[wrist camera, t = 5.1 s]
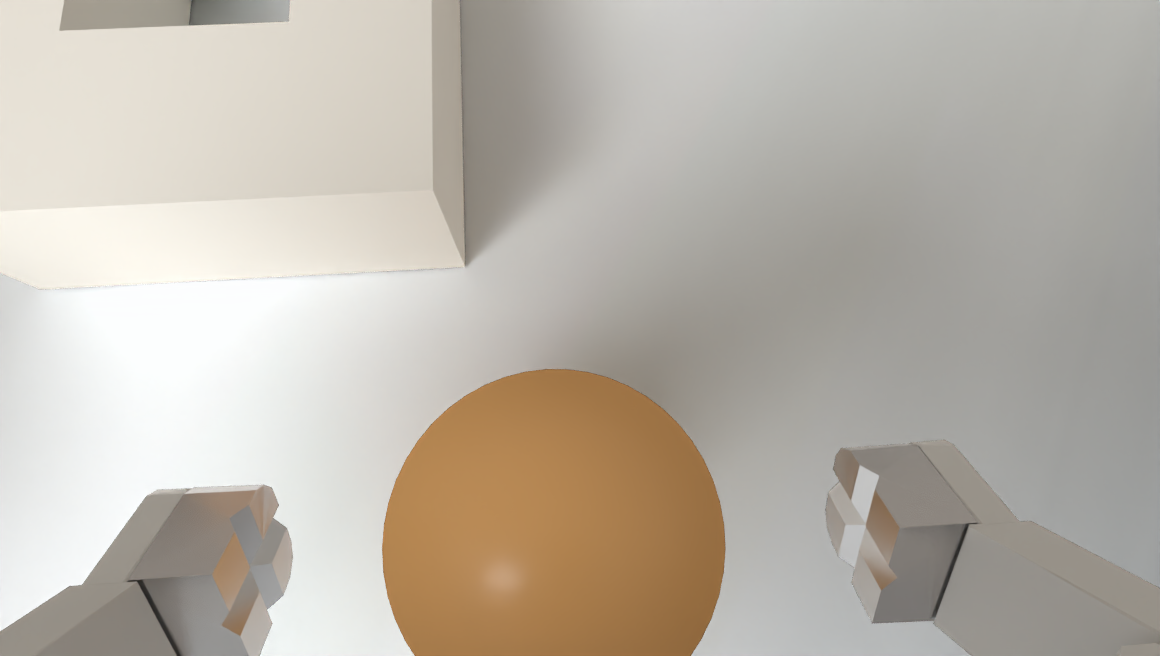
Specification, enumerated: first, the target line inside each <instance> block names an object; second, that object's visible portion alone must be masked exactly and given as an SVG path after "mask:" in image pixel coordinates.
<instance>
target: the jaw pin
mask: <svg viewBox="0 0 1160 656" xmlns="http://www.w3.org/2000/svg"><path fill="white" fill-rule="evenodd" d="M382 553H383V573H384V578H385V584H386V589H387V595H388V599H389V602H390V605H391V608H392V611H393V614H394V618H395V620H396V622H397V624H398V627H399V629H400V631H401V633H402V635H403V637H404V639H405V641H406V643H407V644H408V646H409V647H410V649H411V651H412V652H413V654H414V655H415V656H691V654H692V653H693V651H694V650H695V648H696V647H697V645H698V644H699V642H700V641H701V639H702V637H703V635H704V633H705V630H706V628H707V626H708V624H709V622H710V620H711V618H712V615H713V612H714V609H715V606H716V603H717V600H718V597H719V593H720V588H721V583H722V578H723V573H724V560H725V533H724V522H723V516H722V511H721V505H720V501H719V498H718V494H717V491H716V488H715V485H714V482H713V479H712V477H711V475H710V472H709V470H708V468H707V466H706V464H705V461H704V459H703V458H702V456H701V455H700V453H699V451H698V450H697V448H696V446H695V445H694V443H693V442H692V440H691V439H690V438H689V436H688V435H687V434H686V433H685V431H684V430H683V429H682V428H681V426H680V425H679V424H678V423H677V422H676V421H675V420H674V419H673V418H672V417H671V416H670V415H669V414H668V413H667V412H666V411H665V410H664V409H662V408H661V407H660V406H658V405H657V404H656V403H654V402H653V401H652V400H650V399H649V398H648V397H646V396H645V395H643V394H641V393H640V392H638V391H636V390H634V389H633V388H631V387H629V386H627V385H625V384H622V383H620V382H618V381H615V380H613V379H610V378H608V377H604V376H600V375H596V374H593V373H589V372H583V371H575V370H568V369H544V370H536V371H528V372H523V373H519V374H515V375H511V376H507V377H504V378H501V379H499V380H496V381H494V382H491V383H489V384H486V385H484V386H482V387H480V388H478V389H477V390H475V391H473V392H471V393H469V394H468V395H466V396H464V397H463V398H462V399H460V400H459V401H458V402H456V403H455V404H453V405H452V406H451V407H449V408H448V409H447V410H446V411H445V412H444V413H443V414H442V415H441V416H440V417H439V418H437V419H436V420H435V421H434V422H433V423H432V424H431V426H430V427H429V428H428V429H427V430H426V432H425V433H424V434H423V435H422V436H421V438H420V439H419V440H418V441H417V443H416V445H415V446H414V448H413V449H412V451H411V452H410V454H409V455H408V457H407V459H406V460H405V462H404V465H403V467H402V469H401V471H400V473H399V475H398V477H397V479H396V482H395V485H394V488H393V491H392V494H391V497H390V500H389V503H388V508H387V513H386V518H385V523H384V532H383V545H382Z"/></svg>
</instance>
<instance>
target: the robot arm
mask: <svg viewBox="0 0 1160 656" xmlns="http://www.w3.org/2000/svg"><path fill="white" fill-rule="evenodd" d="M833 470H834V472H835V474H836V475H837V477H838V479H839V482H838V483H837V484H836V485H835V486H834V487H833V488H832V489H831V490H830V491H829V492H828V496H827V503H826V509H825V511H826V522H827V529H828V533H829V536H830V539H831V543H832V545H833V547H834V549H835V551H836V553H837V555H838V557H839V558H841V559H842V560H844V561H845V562H846V563H848V564H849V565H851V566H852V567H853V568H855V569H854V573H853V577H852V582H851V583H852V585H853V587H854V589H855V591H856V593H857V595H858V597H859V599H860V601H861V603H862V605H863V607H864V609H865V611H866V613H867V615H868V617H869V619H870V620H871V622H872V623H892V622H914V621H934V623H933V624H934V625H935V626H937V627H938V628H939V629H940V630H941V631H943V632H944V633H945V634H946V635H947V636H949V637H950V638H951V639H952V640H953V641H955V642H956V643H957V644H958V645H959V646H961V647H962V648H963V649H964V650H965V651H966V652H968V653H969V654H970V655H971V656H1160V588H1158V587H1157V586H1155V585H1153V584H1151V583H1149V582H1147V581H1145V580H1143V579H1141V578H1139V577H1137V576H1135V575H1134V574H1132V573H1130V572H1128V571H1126V570H1124V569H1122V568H1120V567H1118V566H1116V565H1114V564H1112V563H1111V562H1109V561H1107V560H1105V559H1103V558H1101V557H1099V556H1097V555H1095V554H1093V553H1091V552H1089V551H1088V550H1086V549H1084V548H1082V547H1080V546H1078V545H1076V544H1074V543H1072V542H1070V541H1068V540H1066V539H1065V538H1063V537H1061V536H1059V535H1057V534H1055V533H1053V532H1051V531H1049V530H1047V529H1045V528H1043V527H1042V526H1040V525H1038V524H1036V523H1034V522H1032V521H1019V520H1018V519H1017V518H1016V517H1015V516H1014V514H1013V513H1012V512H1011V511H1010V510H1009V509H1008V507H1007V506H1006V505H1005V504H1004V503H1003V502H1002V500H1001V499H1000V498H999V497H998V496H997V495H996V493H995V492H994V491H993V490H992V489H991V488H990V486H989V485H988V484H987V483H986V482H985V481H984V479H983V478H982V477H981V476H980V475H979V474H978V472H977V471H976V470H975V469H974V468H973V467H972V465H971V464H970V463H969V462H968V461H967V460H966V458H965V457H964V456H963V455H962V454H961V453H960V451H959V450H958V449H957V448H956V447H955V446H954V445H953V444H952V443H950V442H948V441H946V440H935V441H923V442H910V443H909V444H905V443H904V444H890V445H876V446H862V447H848V448H841V449H840V450H839V452H838V453H837V455H836V458H835V462H834V467H833ZM278 506H279V504H278V502H277V499H276V497H275V494H274V492H273V489H272V488H271V487H269V486H266V485H244V486H219V487H195V488H192V489H162V490H156V491H154V492H153V493H151V494H149V495H147V496H146V497H145V499H144V500H143V501H142V503H141V504H140V505H139V507H138V508H137V510H136V511H135V512H134V514H133V515H132V516H131V518H130V519H129V521H128V522H127V523H126V525H125V526H124V528H123V529H122V530H121V532H120V533H119V534H118V536H117V537H116V539H115V540H114V541H113V543H112V544H111V546H110V547H109V548H108V550H107V551H106V552H105V554H104V555H103V557H102V558H101V559H100V561H99V562H98V563H97V565H96V566H95V568H94V569H93V570H92V572H91V573H90V575H89V576H88V577H87V579H86V580H85V581H84V583H83V584H82V585H78V586H69V587H68V588H66V589H64V590H63V591H61V592H60V593H58V594H57V595H55V596H54V597H52V598H51V599H49V600H48V601H46V602H45V603H43V604H42V605H40V606H39V607H37V608H35V609H34V610H32V611H31V612H29V613H28V614H26V615H25V616H23V617H22V618H20V619H19V620H17V621H16V622H14V623H13V624H11V625H10V626H8V627H7V628H5V629H3V630H2V631H0V656H260V653H261V651H262V648H263V646H264V643H265V641H266V638H267V636H268V633H269V631H270V628H271V626H272V621H271V619H270V616H269V614H268V611H267V609H268V608H270V607H271V606H272V605H273V604H274V603H275V602H276V601H278V600H279V599H280V598H281V597H282V596H283V595H284V593H285V590H286V587H287V584H288V582H289V579H290V574H291V567H292V559H293V553H292V544H291V539H290V536H289V533H288V530H287V528H286V527H285V526H284V525H282V524H281V523H279V522H278V521H277V520H275V519H274V518H273V517H274V515H275V512H276V510H277V508H278Z"/></svg>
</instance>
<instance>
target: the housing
mask: <svg viewBox="0 0 1160 656" xmlns="http://www.w3.org/2000/svg"><path fill="white" fill-rule="evenodd" d="M191 2H192V0H0V273H1V274H4V275H6V276H8V277H11V278H13V279H16V280H18V281H20V282H23V283H25V284H28V285H30V286H32V287H35V288H37V289H40V290H43V289H62V288H81V287H100V286H119V285H137V284H156V283H175V282H194V281H213V280H231V279H250V278H269V277H288V276H307V275H325V274H344V273H363V272H382V271H401V270H419V269H438V268H457V267H465V231H464V181H463V130H462V79H461V29H460V0H290V7H289V22H267V23H242V24H216V25H191V26H189V20H190V11H191Z"/></svg>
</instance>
